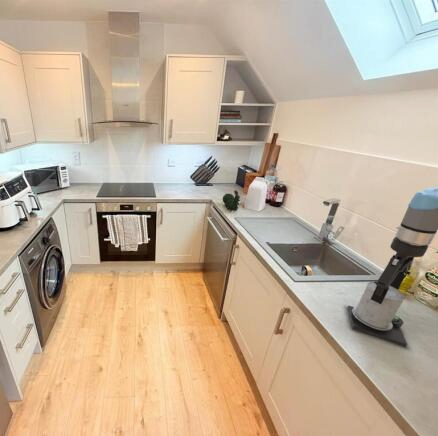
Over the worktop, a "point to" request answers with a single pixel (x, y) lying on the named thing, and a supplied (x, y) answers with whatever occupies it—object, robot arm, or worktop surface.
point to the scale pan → (371, 325)
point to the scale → (389, 335)
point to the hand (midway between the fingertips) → (384, 294)
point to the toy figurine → (231, 201)
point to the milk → (256, 195)
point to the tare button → (395, 318)
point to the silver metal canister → (379, 306)
